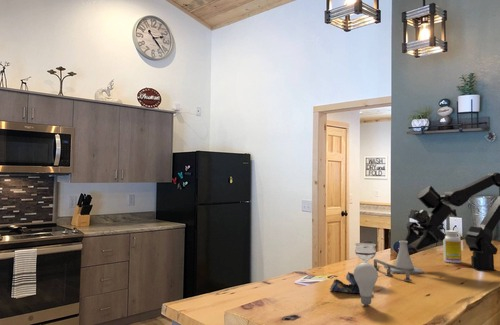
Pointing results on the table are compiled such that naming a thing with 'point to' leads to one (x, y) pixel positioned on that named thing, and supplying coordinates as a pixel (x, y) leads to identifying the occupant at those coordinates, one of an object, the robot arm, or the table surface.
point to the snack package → (343, 287)
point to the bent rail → (392, 267)
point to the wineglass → (365, 251)
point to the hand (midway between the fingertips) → (410, 247)
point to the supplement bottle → (452, 247)
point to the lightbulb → (365, 281)
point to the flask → (404, 257)
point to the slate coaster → (412, 271)
